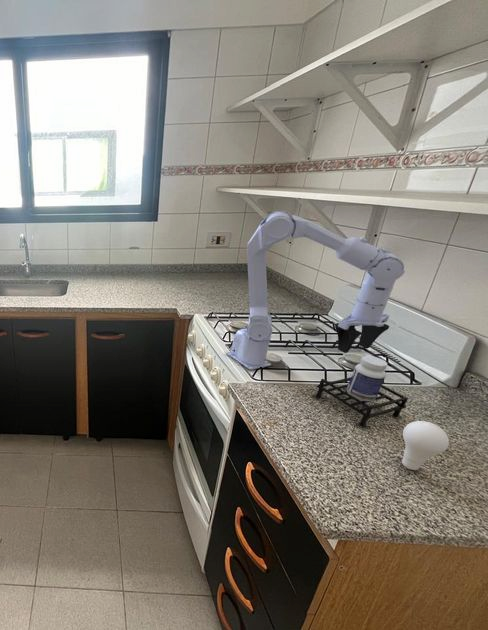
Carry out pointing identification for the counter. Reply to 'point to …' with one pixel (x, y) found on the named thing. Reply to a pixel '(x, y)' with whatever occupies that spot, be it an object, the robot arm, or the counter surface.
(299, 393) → the counter surface
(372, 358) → the pill bottle
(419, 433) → the lightbulb
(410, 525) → the counter surface
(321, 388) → the wire rack
